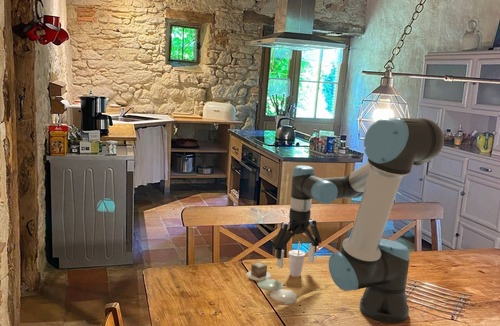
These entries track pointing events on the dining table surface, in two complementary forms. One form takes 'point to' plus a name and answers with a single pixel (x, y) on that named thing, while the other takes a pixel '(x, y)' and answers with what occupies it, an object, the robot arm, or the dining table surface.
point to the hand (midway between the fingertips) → (295, 264)
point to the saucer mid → (270, 284)
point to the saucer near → (284, 296)
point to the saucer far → (258, 278)
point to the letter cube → (259, 269)
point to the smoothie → (296, 261)
